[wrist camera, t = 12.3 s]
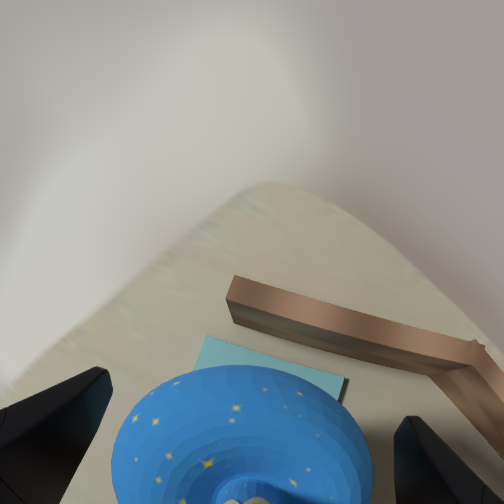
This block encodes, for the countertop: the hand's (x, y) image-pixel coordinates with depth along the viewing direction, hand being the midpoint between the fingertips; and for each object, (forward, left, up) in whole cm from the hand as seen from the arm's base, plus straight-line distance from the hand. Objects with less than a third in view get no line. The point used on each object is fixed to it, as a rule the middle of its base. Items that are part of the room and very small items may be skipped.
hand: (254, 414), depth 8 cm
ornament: (-2, 0, -9) cm, 9 cm away
